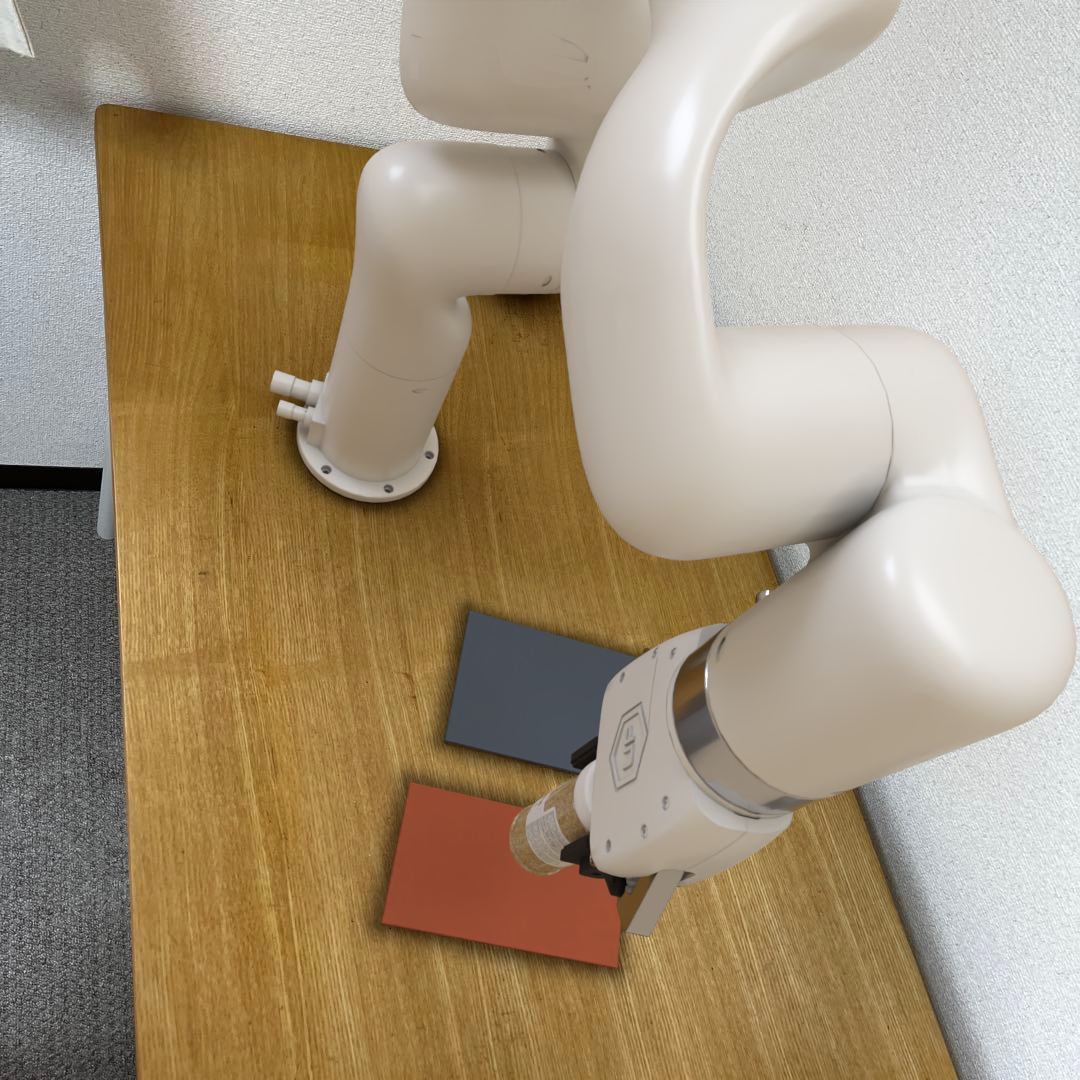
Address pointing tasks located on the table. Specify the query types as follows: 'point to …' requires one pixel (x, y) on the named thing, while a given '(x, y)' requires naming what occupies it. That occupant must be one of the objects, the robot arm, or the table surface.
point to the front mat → (491, 884)
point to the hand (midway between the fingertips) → (591, 811)
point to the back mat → (528, 692)
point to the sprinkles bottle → (553, 824)
